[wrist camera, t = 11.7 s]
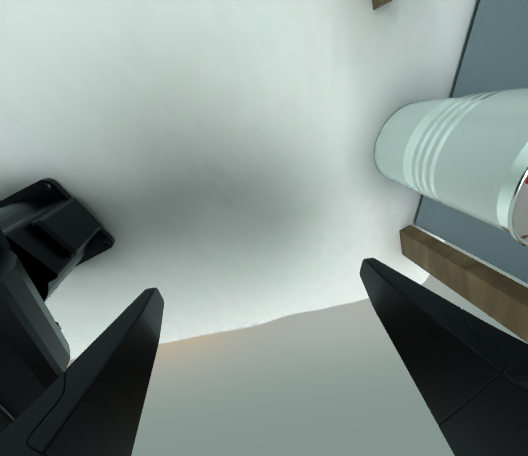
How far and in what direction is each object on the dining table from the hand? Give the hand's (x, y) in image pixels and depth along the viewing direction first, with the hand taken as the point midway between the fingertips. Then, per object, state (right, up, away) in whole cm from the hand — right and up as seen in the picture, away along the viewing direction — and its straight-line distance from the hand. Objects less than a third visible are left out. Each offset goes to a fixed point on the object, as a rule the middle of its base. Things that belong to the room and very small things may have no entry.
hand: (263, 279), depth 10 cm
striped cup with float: (+14, +10, +12) cm, 21 cm away
